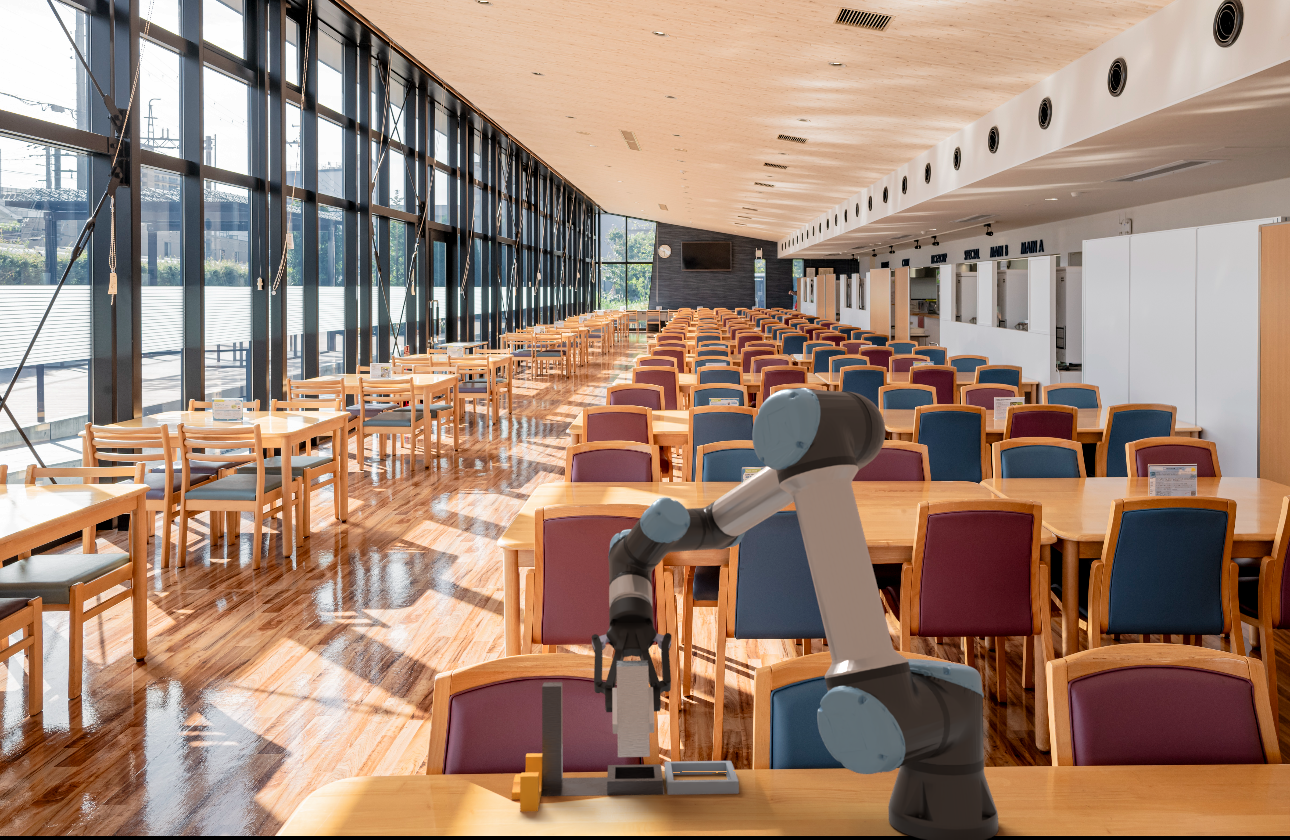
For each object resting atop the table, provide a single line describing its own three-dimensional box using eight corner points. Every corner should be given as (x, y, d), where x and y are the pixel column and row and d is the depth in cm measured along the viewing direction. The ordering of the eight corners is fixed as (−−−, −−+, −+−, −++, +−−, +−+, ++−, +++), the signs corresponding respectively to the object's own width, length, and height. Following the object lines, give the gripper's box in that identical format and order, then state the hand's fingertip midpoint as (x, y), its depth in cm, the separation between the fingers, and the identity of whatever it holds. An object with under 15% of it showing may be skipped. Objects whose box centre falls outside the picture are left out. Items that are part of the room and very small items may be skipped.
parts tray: (731, 779, 167) (731, 760, 167) (738, 801, 156) (738, 781, 156) (664, 780, 167) (664, 761, 167) (667, 802, 156) (667, 782, 156)
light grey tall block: (648, 748, 163) (647, 660, 164) (649, 756, 158) (648, 666, 159) (617, 748, 163) (616, 660, 164) (617, 757, 158) (616, 666, 159)
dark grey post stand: (662, 783, 165) (661, 677, 166) (664, 802, 156) (663, 689, 157) (545, 785, 164) (545, 678, 165) (540, 804, 155) (540, 690, 156)
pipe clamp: (515, 794, 160) (515, 753, 161) (542, 794, 161) (543, 753, 161) (508, 821, 148) (508, 776, 149) (537, 820, 149) (537, 776, 149)
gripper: (682, 620, 177) (690, 740, 160) (579, 622, 177) (576, 742, 159) (683, 593, 172) (692, 713, 155) (577, 595, 172) (574, 716, 155)
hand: (633, 728), depth 157 cm, fingers closed on light grey tall block, 5 cm apart
